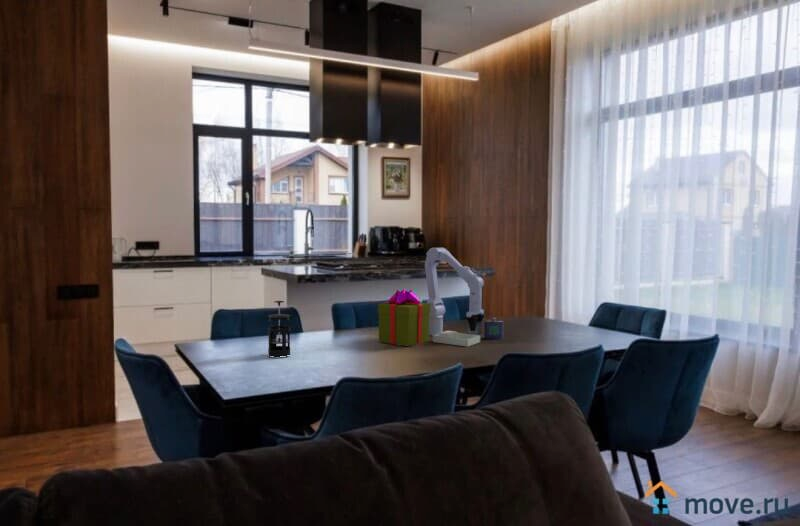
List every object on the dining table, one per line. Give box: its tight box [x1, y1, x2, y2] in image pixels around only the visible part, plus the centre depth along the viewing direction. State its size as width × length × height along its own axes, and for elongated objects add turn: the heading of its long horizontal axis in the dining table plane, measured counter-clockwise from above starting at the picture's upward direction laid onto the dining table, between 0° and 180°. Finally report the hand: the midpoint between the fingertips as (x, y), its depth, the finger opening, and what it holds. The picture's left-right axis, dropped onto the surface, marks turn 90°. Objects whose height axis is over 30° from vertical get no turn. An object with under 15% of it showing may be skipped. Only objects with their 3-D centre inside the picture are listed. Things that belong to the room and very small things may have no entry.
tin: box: [468, 321, 483, 335], centre depth 277 cm, size 5×5×6 cm
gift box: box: [377, 288, 430, 347], centre depth 270 cm, size 21×21×25 cm
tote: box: [432, 332, 482, 347], centre depth 270 cm, size 18×13×4 cm
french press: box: [267, 300, 291, 357], centre depth 239 cm, size 12×9×23 cm
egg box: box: [439, 330, 458, 338], centre depth 272 cm, size 5×8×4 cm, turn 146°
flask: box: [483, 317, 504, 340], centre depth 280 cm, size 9×3×11 cm, turn 88°
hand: (474, 330), depth 277 cm, fingers closed on tin, 4 cm apart
